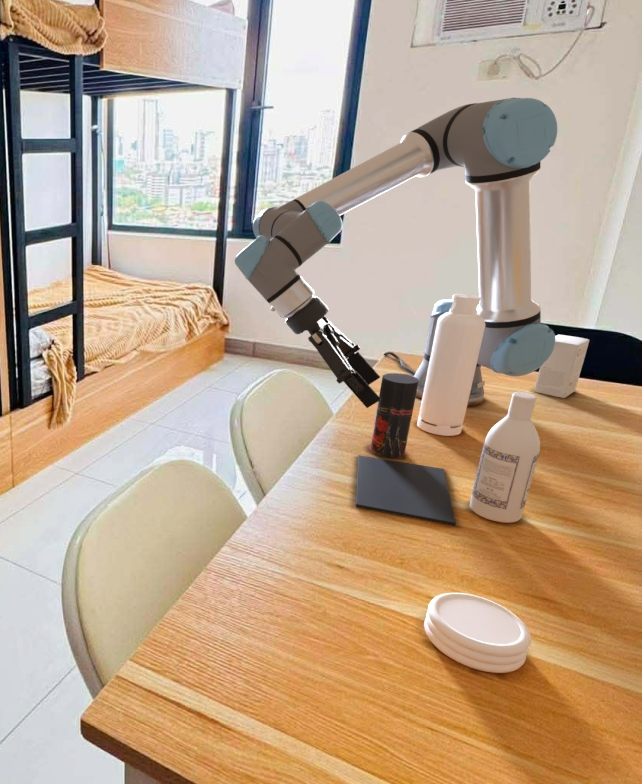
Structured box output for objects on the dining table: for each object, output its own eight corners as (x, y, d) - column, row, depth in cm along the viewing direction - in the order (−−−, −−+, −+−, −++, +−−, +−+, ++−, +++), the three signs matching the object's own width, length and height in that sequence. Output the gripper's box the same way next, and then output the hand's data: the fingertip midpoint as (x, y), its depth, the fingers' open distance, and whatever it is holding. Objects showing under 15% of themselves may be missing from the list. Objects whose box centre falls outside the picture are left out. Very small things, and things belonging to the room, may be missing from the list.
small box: (544, 384, 156) (558, 333, 151) (575, 391, 151) (590, 339, 146) (532, 391, 151) (546, 339, 147) (564, 398, 146) (579, 345, 142)
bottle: (464, 438, 126) (496, 301, 117) (419, 432, 129) (446, 298, 120) (457, 423, 134) (486, 293, 124) (414, 418, 136) (439, 290, 127)
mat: (358, 457, 119) (358, 455, 119) (443, 471, 113) (443, 468, 113) (355, 506, 102) (356, 504, 102) (455, 525, 96) (456, 523, 96)
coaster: (540, 651, 72) (548, 626, 70) (498, 689, 66) (506, 663, 65) (449, 603, 79) (455, 580, 78) (406, 634, 74) (411, 610, 73)
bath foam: (502, 501, 103) (531, 386, 96) (531, 524, 96) (565, 403, 90) (459, 501, 103) (486, 387, 96) (486, 524, 96) (517, 403, 90)
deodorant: (408, 459, 118) (423, 384, 113) (374, 457, 119) (387, 382, 114) (399, 446, 123) (412, 374, 118) (366, 444, 124) (378, 372, 119)
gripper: (290, 306, 132) (357, 383, 131) (274, 334, 111) (354, 425, 110) (321, 283, 128) (390, 362, 127) (310, 307, 107) (393, 402, 106)
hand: (374, 391), depth 119 cm, fingers open, 13 cm apart
